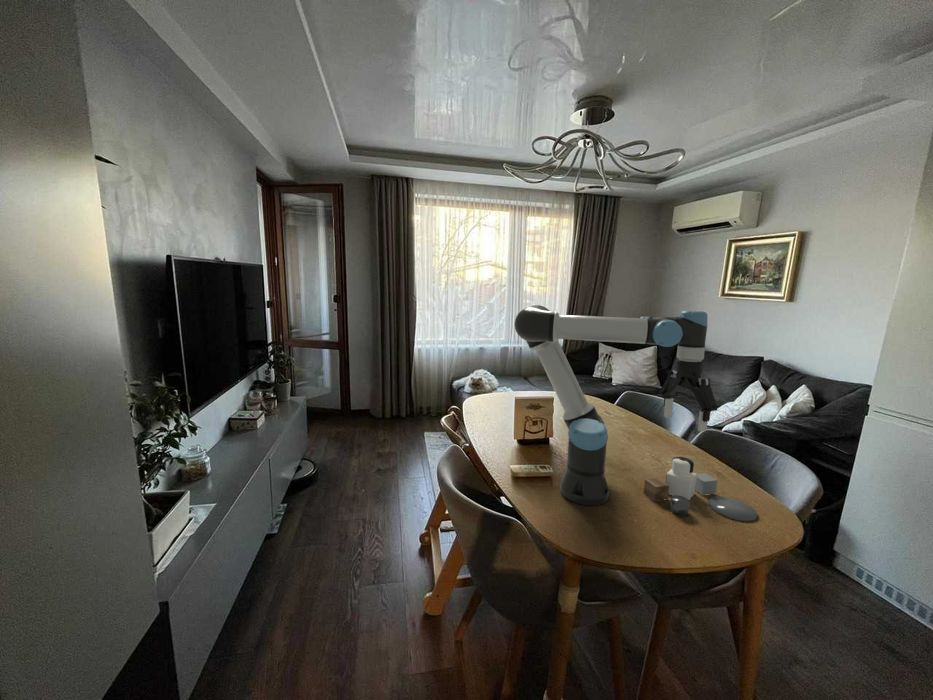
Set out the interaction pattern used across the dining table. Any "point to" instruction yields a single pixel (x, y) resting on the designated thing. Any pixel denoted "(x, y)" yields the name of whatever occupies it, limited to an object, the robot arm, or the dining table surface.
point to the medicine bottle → (681, 478)
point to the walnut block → (656, 489)
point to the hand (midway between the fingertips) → (684, 423)
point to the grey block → (705, 484)
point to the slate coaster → (732, 508)
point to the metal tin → (679, 505)
